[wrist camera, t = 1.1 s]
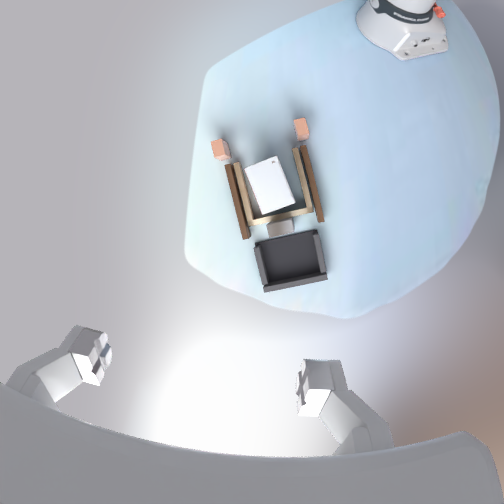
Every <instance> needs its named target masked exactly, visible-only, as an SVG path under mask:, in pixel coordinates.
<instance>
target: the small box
mask: <svg viewBox="0 0 504 504" xmlns="http://www.w3.org/2000/svg"><path fill="white" fill-rule="evenodd" d="M244 170H245V173H246V175H247V178H248V180H249V183H250V185H251V188H252V190H253V193H254V195H255V198H256V200H257V203H258V205H259V208H260V211H261V213H262V215H263V214H266V213H269V212H272V211H275V210H278V209H280V208H283V207H286V206H288V205H291V204H294V203H295V199H294V197H293V194H292V192H291V189H290V186H289V184H288V181H287V179H286V176H285V174H284V171H283V168H282V166H281V164H280V161H279V159H278V156H277V155H276V156H274V157H271V158H268V159H266V160H263V161H261V162H258V163H256V164H253V165H251V166H249V167H246V168H244Z"/></svg>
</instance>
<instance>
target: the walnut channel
mask: <svg viewBox="0 0 504 504" xmlns="http://www.w3.org/2000/svg"><path fill="white" fill-rule="evenodd" d="M300 151H301V154H302V158H303V162H304V166H305V170H306V174H307V177H308V182H309V186H310V190H311V194H312V198H313V202H314V207H315V211H316V215H317V220H318V222H319V223H320V222H324V217H323V212H322V208H321V203H320V199H319V195H318V191H317V187H316V182H315V178H314V174H313V170H312V167H311V163H310V159H309V155H308V151H307V148H306V145H303V146H300ZM225 169H226V173H227V177H228V181H229V185H230V189H231V193H232V197H233V202H234V206H235V210H236V214H237V218H238V222H239V226H240V230H241V234H242V238H243V240H244V239H248V238H249V237H251V235H250V231H249V227H248V223H247V219H246V215H245V211H244V207H243V203H242V199H241V195H240V191H239V187H238V183H237V178H236V174H235V170H234V166H233V165H231V164H227V165H225Z"/></svg>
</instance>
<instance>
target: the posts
mask: <svg viewBox="0 0 504 504" xmlns="http://www.w3.org/2000/svg"><path fill="white" fill-rule="evenodd" d="M294 129H295V132H296V136H297V140H298V141H302V140H307V139H308V138H309V130H308V127H307V123H306V120H305V118H300V119H295V120H294ZM211 145H212V149H213V153H214V157H215V158H217V159H219V160H221V161H223V160H227V159H230V158H231V154H230V150H229V146H228V143H226V142H225V141H224V140H222V139H219V140H215V141H212V142H211Z"/></svg>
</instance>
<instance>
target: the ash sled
mask: <svg viewBox="0 0 504 504" xmlns="http://www.w3.org/2000/svg"><path fill="white" fill-rule="evenodd" d="M292 151H293V155H294V159H295V163H296V166H297V170H298V174H299V178H300V182H301V186H302V190H303V195H304V199H305V203H306V208H302V209H297V210H293V211H288V212H284V213H280V214H275V215H271V216H267V217H262V218H258V219H254V216H253V212H252V207H251V203H250V199H249V195H248V191H247V187H246V183H245V179H244V175H243V171H242V167H241V163H239V162H236V163H233V164H234V168H235V173H236V177H237V181H238V185H239V189H240V193H241V197H242V201H243V205H244V209H245V213H246V217H247V221H248V225H249V227H250V226H254V225H258V224H263V223H267V222H269V223H268V224H267V225H266V226H267V230H268V234H269V238H270V237H274V236H279V235H283V234H288V233H292V232H294V222H293V218H292V217H293V216H298V215H302V214H307V213H311V212H314V211H313V207H312V203H311V199H310V194H309V190H308V186H307V182H306V178H305V174H304V170H303V166H302V162H301V158H300V155H299V151H298V147H297V148H292Z"/></svg>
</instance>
